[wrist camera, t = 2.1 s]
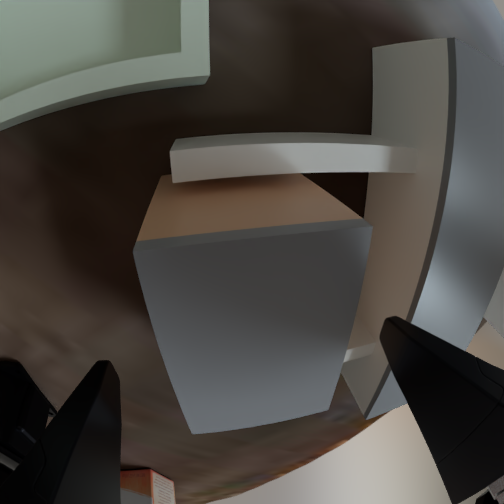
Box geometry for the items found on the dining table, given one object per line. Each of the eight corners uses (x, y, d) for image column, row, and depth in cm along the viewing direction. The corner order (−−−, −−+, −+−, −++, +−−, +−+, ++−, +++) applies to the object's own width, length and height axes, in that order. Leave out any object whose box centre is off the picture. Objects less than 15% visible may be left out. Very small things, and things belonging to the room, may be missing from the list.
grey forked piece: (463, 77, 12) (534, 88, 7) (409, 339, 21) (443, 385, 16) (171, 36, 9) (157, -11, 4) (211, 385, 19) (222, 454, 14)
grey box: (185, 321, 16) (192, 434, 10) (161, 175, 12) (132, 251, 6) (283, 308, 17) (328, 409, 11) (287, 164, 13) (373, 226, 7)
